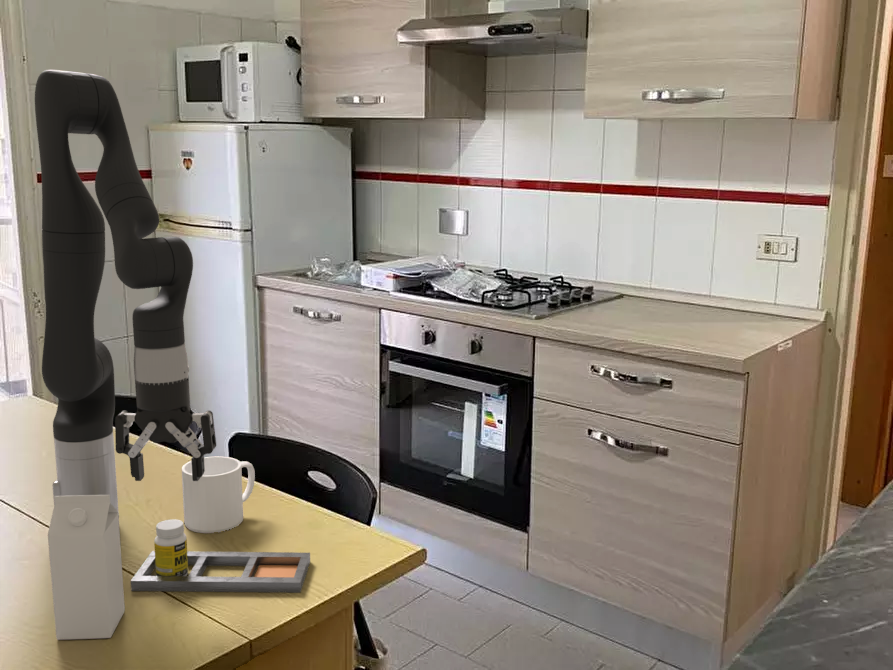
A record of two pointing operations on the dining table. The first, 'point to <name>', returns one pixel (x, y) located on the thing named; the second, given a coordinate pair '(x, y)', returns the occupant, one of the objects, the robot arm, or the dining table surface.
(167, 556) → the supplement bottle
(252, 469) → the mug
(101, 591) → the milk carton
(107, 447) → the robot arm
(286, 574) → the marked hole pad
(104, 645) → the dining table surface
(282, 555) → the grey flat rectangular frame
